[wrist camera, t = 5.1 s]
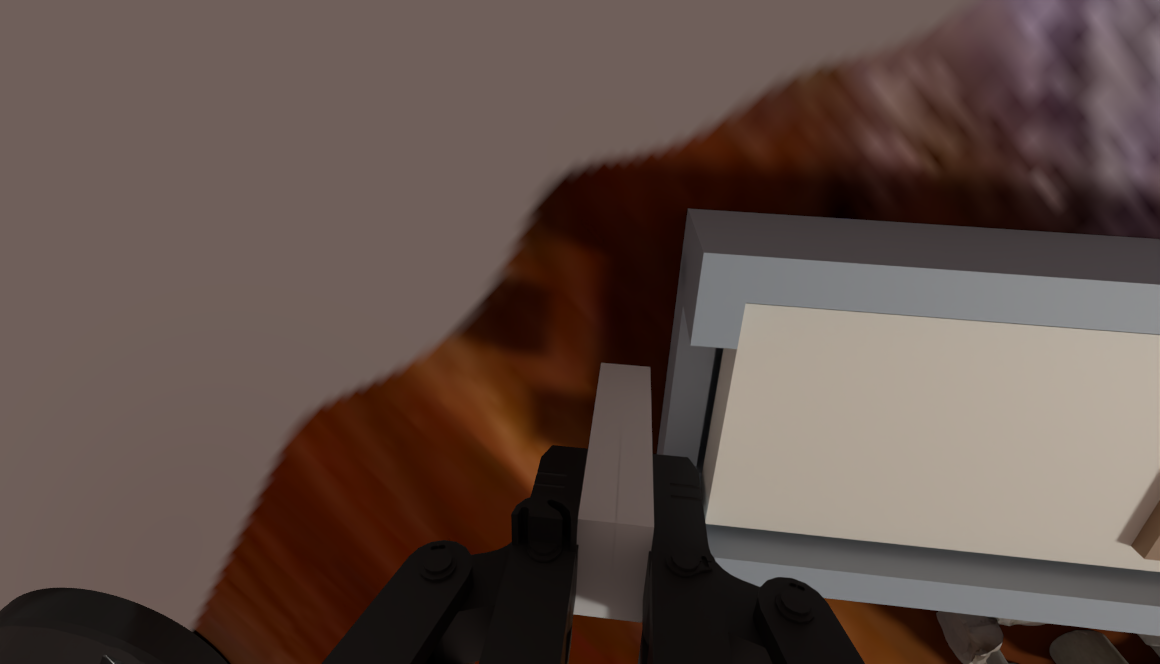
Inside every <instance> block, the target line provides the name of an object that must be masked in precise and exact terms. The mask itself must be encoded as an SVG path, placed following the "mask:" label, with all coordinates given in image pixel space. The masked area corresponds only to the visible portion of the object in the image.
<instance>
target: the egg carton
mask: <svg viewBox="0 0 1160 664" xmlns="http://www.w3.org/2000/svg"><path fill="white" fill-rule="evenodd" d="M936 615H937V618H938V621H939V623H940V625H941V627H942V630H943V633H944V636H945V639H946V641H947V642H948V645H949V647H950V648H951V649H952V651H953V652H954V654H955V655H956V656H957V658H958V659H959V660H960V661H961V662H962V663H963V664H1017V663H1008V662H1007V661H1006V659H1005V657H1004V656H1003V654H1002V653H1001V651H1000V650H999V648H1000V647H1001V644H1002V642H1003V636H1004V635H1003V633H1002V630H1001V628H1000V626H999V624H1002V625H1007V626H1011V625H1015V624H1021V625H1026V626H1036V625H1043V624H1047V623H1041V622H1032V621H1023V620H1014V619H1006V618H997V617H988V616H979V615H971V614H962V613H953V612H944V611H938V612H937V613H936ZM998 623H999V624H998ZM1136 634H1137V633H1136ZM1137 635H1138V636H1139V637H1140V638H1141V639H1142V640H1143V641H1144V643H1145V644H1147V645H1150V646H1151V647H1152V649H1153V650H1154V651H1155V652H1156V653H1157V654H1158V656H1159V657H1160V636H1155V635H1146V634H1137ZM1049 651H1050V656H1051V657H1052V658H1053V660H1054V661H1055V663H1056V664H1129V663H1128V662H1127V661H1126V660H1125V659H1124V657H1123V656H1122V655H1121V654H1120V653H1119V651H1118V650H1117V649H1116V648H1115V647H1114V646H1113V644H1112V643H1111V642H1110V641H1109V640H1108V638H1107V637H1106V636H1105V635H1104V634H1102V633H1099V632H1096V631H1091V630H1075V631H1071V632H1068V633H1065V634H1063V635H1061V636H1059V637H1058V638H1057V639H1055V640H1054V641H1053V642H1052V644H1051V646H1050V650H1049Z"/></svg>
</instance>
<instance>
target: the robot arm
mask: <svg viewBox="0 0 1160 664" xmlns="http://www.w3.org/2000/svg"><path fill="white" fill-rule="evenodd" d="M511 516H512V542H511V543H510V544H508V545H507V546H505V547H503V548H501V549H499V550H495V551H492V552H487V553H481V554H475V555H471V554H470V553H469V551H468V550H467V549H466V547H464V546H462V545H461V544H459V543H457V542H453V541H446V540H442V541H436V542H430V543H428V544H426V545H424V546H422V547H420V548H418V549H417V550H416V551H415V552H414V553H413V554H411V555H410V556H409V557H408V559H407V560H406V561H405V562H404V563H403V565H402V566H401V567H400V568H399V570H398V571H397V572H396V573H395V575H394V576H393V577H392V578H391V579H390V581H389V582H388V583H387V584H386V586H385V587H384V588H383V589H382V590H381V592H380V593H379V594H378V595H377V597H376V598H375V599H374V600H373V601H372V603H371V604H370V605H369V606H368V608H367V609H366V610H365V611H364V612H363V614H362V615H361V616H360V617H359V619H358V620H357V621H356V622H355V624H354V625H353V626H352V627H351V628H350V630H349V631H348V632H347V633H346V635H345V636H344V637H343V638H342V639H341V641H340V642H339V643H338V644H337V646H336V647H335V648H334V649H333V650H332V652H331V653H330V654H329V655H328V657H327V658H326V659H325V660H324V662H323V663H322V664H474V663H475V661H479V664H568V662H569V654H570V646H571V638H572V621H573V614H577V615H585V616H593V617H601V618H609V619H618V620H626V621H634V622H642V617H643V630H642V638H641V645H640V653H639V660H638V664H865V663H864V661H863V660H862V658H861V656H860V655H859V653H858V652H857V650H856V648H855V647H854V645H853V643H852V642H851V640H850V639H849V637H848V635H847V634H846V632H845V630H844V629H843V627H842V626H841V624H840V622H839V621H838V619H837V618H836V616H835V614H834V613H833V611H832V609H831V608H830V606H829V605H828V603H827V602H826V601H825V599H824V598H823V597H822V596H821V595H820V594H819V592H818V591H816V590H815V589H813V588H812V587H810V586H809V585H807V584H806V583H804V582H801V581H798V580H796V579H793V578H786V577H776V578H773V579H769V580H767V581H766V582H765V583H764V584H763V585H762V586H761V587H759V586H756V585H754V584H751V583H748V582H746V581H743V580H741V579H739V578H737V577H735V576H733V575H731V574H729V573H728V572H727V571H725V570H724V569H722V567H721V566H720V565H719V564H718V563H717V562H716V561H715V558H714V557H713V556H712V554H711V552H710V549H709V545H708V538H707V531H706V523H705V516H704V509H703V502H702V495H701V489H700V480H699V473H698V470H697V469H696V467H695V466H694V465H693V463H692V462H691V460H690V459H689V458H688V457H680V456H670V455H660V454H652V414H651V371H650V367H645V366H633V365H622V364H610V363H601V367H600V374H599V380H598V387H597V394H596V401H595V407H594V414H593V421H592V427H591V434H590V441H589V447H588V449H585V448H575V447H565V446H554V445H552V446H551V448H550V449H549V450H548V451H547V452H546V453H545V454H544V455H543V456H542V457H541V460H540V464H539V468H538V473H537V475H536V479H535V484H534V486H533V490H532V494H531V497H530V498H527V499H525V500H523V501H522V502H521V503H519V504H518V505H517V506H516V507H515V509H514V511H513V512H512V514H511ZM0 664H228V663H227V662H226V661H225V660H224V659H223V658H222V657H221V656H220V655H219V654H218V653H217V652H216V651H215V650H214V649H213V648H212V647H211V646H209V645H208V644H207V643H206V642H205V641H203V640H202V639H201V638H199V637H198V636H197V635H195V634H194V633H193V632H191V631H190V630H188V629H187V628H185V627H183V626H182V625H180V624H179V623H177V622H175V621H173V620H172V619H170V618H168V617H166V616H164V615H162V614H160V613H158V612H156V611H154V610H152V609H150V608H147V607H145V606H143V605H140V604H138V603H135V602H132V601H129V600H127V599H124V598H120V597H117V596H114V595H110V594H106V593H102V592H97V591H92V590H85V589H77V588H48V589H41V590H36V591H32V592H29V593H26V594H23V595H22V596H19V597H17V598H16V599H14V600H13V601H11V602H10V603H9V604H8V605H7V606H5V607H4V608H3V609H2V610H1V611H0Z"/></svg>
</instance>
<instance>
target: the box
mask: <svg viewBox="0 0 1160 664" xmlns="http://www.w3.org/2000/svg"><path fill="white" fill-rule="evenodd" d="M746 303H757V304H770V305H783V306H796V307H809V308H822V309H835V310H848V311H861V312H874V313H887V314H900V315H913V316H926V317H939V318H952V319H965V320H979V321H992V322H1005V323H1018V324H1031V325H1044V326H1057V327H1070V328H1083V329H1096V330H1109V331H1122V332H1135V333H1148V334H1160V239H1152V238H1136V237H1121V236H1105V235H1090V234H1074V233H1059V232H1043V231H1028V230H1012V229H997V228H981V227H966V226H950V225H935V224H920V223H904V222H889V221H873V220H858V219H842V218H827V217H811V216H796V215H780V214H765V213H749V212H734V211H719V210H703V209H688V211H687V219H686V227H685V234H684V242H683V250H682V258H681V266H680V274H679V282H678V290H677V298H676V306H675V314H674V321H673V329H672V337H671V345H670V353H669V361H668V369H667V377H666V385H665V393H664V401H663V408H662V416H661V424H660V432H659V440H658V448H657V454H660V455H670V456H680V457H688V458H689V459H690V460H691V462H692V463H693V465H694V466H695V467H696V469H697V470H698V473H699V480H700V482H701V476H702V470H703V465H704V459H705V453H706V447H707V441H708V436H709V430H710V424H711V418H712V412H713V407H714V401H715V395H716V389H717V383H718V378H719V372H720V366H721V360H722V355H723V349H724V348H728V349H737V347H738V342H739V337H740V331H741V326H742V320H743V315H744V310H745V304H746ZM706 531H707V538H708V545H709V549H710V552H711V554H712V556H713V557H714V558H715V561H716V562H717V563H718V564H719V565H720V566H721V567H722V569H724V570H725V571H727V572H728V573H729V574H731V575H733V576H735V577H737V578H739V579H741V580H743V581H746V582H748V583H751V584H754V585H756V586H759V587H761V586H762V585H763V584H764V583H765V582H766V581H767V580H769V579H773V578H776V577H786V578H793V579H796V580H798V581H801V582H804V583H806V584H807V585H809V586H810V587H812V588H813V589H815V590H816V591H818V592H819V594H820V595H821V596H822V597H823V598H831V599H839V600H848V601H857V602H866V603H874V604H883V605H892V606H901V607H909V608H918V609H927V610H936V611H944V612H953V613H962V614H971V615H979V616H988V617H997V618H1006V619H1014V620H1023V621H1032V622H1041V623H1049V624H1058V625H1067V626H1076V627H1084V628H1093V629H1102V630H1111V631H1120V632H1128V633H1137V634H1146V635H1155V636H1160V572H1155V571H1145V570H1136V569H1126V568H1117V567H1107V566H1098V565H1089V564H1079V563H1070V562H1060V561H1051V560H1042V559H1032V558H1023V557H1013V556H1004V555H995V554H985V553H976V552H966V551H957V550H947V549H938V548H929V547H919V546H910V545H900V544H891V543H882V542H872V541H863V540H853V539H844V538H834V537H825V536H816V535H806V534H797V533H787V532H778V531H769V530H759V529H750V528H740V527H731V526H722V525H712V524H706Z"/></svg>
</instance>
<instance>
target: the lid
mask: <svg viewBox="0 0 1160 664" xmlns="http://www.w3.org/2000/svg"><path fill="white" fill-rule="evenodd" d="M700 489H701V495H702V502H703V509H704V516H705V523H706V524H712V525H722V526H731V527H740V528H750V529H759V530H769V531H778V532H787V533H797V534H806V535H816V536H825V537H834V538H844V539H853V540H863V541H872V542H882V543H891V544H900V545H910V546H919V547H929V548H938V549H947V550H957V551H966V552H976V553H985V554H995V555H1004V556H1013V557H1023V558H1032V559H1042V560H1051V561H1060V562H1070V563H1079V564H1089V565H1098V566H1107V567H1117V568H1126V569H1136V570H1145V571H1155V572H1160V334H1148V333H1135V332H1122V331H1109V330H1096V329H1083V328H1070V327H1057V326H1044V325H1031V324H1018V323H1005V322H992V321H979V320H965V319H952V318H939V317H926V316H913V315H900V314H887V313H874V312H861V311H848V310H835V309H822V308H809V307H796V306H783V305H770V304H757V303H746V304H745V310H744V315H743V320H742V326H741V331H740V337H739V342H738V347H737V349H728V348H724V349H723V355H722V360H721V366H720V372H719V378H718V383H717V389H716V395H715V401H714V407H713V412H712V418H711V424H710V430H709V436H708V441H707V447H706V453H705V459H704V465H703V470H702V476H701V482H700Z"/></svg>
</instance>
